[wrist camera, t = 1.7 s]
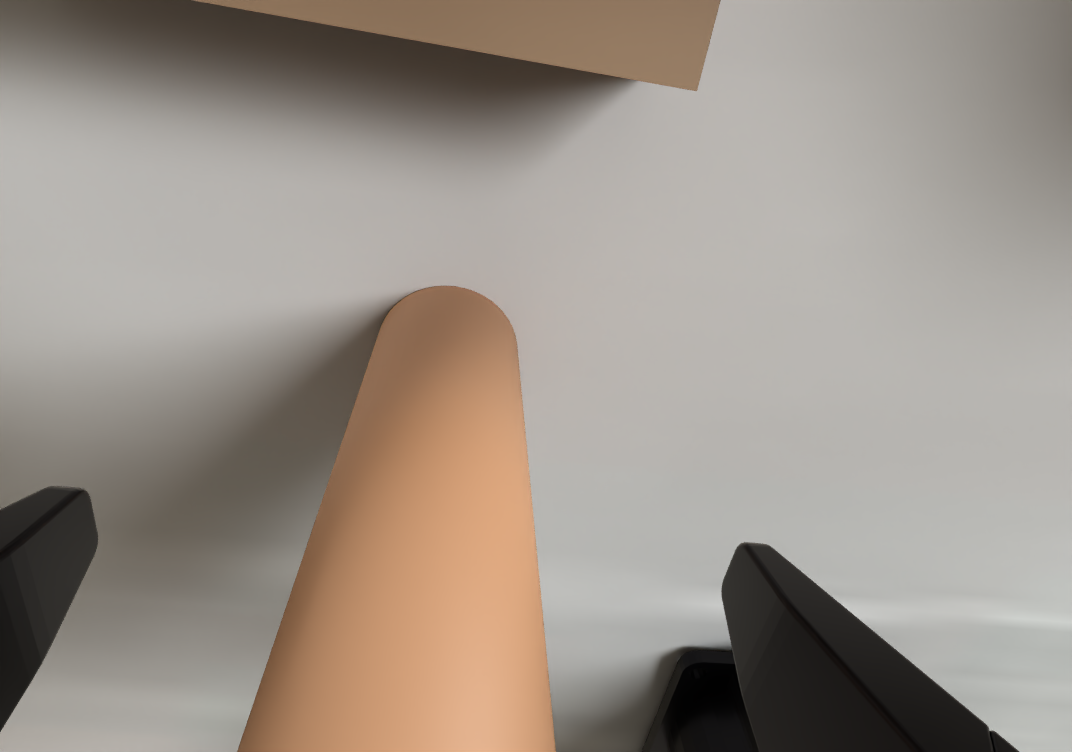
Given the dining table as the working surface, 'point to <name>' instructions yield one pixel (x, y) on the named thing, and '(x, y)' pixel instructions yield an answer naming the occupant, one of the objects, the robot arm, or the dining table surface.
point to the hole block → (535, 30)
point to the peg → (419, 558)
